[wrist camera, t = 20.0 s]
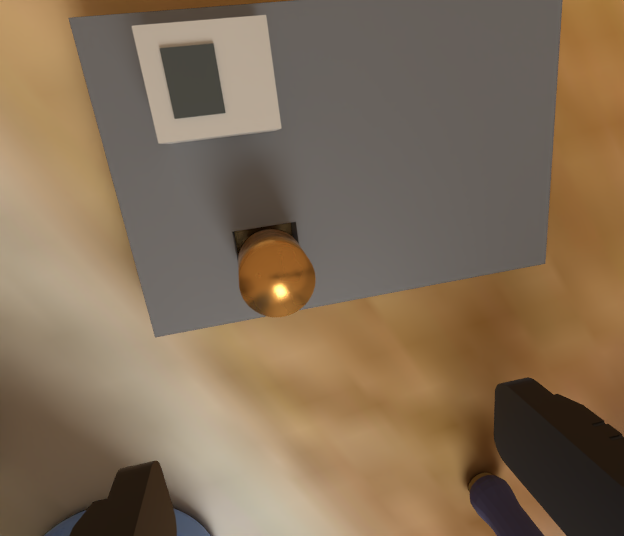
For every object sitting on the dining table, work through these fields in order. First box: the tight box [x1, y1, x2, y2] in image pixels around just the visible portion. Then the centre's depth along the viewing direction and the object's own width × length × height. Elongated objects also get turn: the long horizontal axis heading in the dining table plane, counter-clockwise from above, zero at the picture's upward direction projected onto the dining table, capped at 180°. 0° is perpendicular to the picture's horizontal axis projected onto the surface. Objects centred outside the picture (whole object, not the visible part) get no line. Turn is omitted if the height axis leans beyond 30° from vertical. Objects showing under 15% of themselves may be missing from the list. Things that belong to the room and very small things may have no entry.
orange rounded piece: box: [238, 229, 316, 317], centre depth 25 cm, size 4×4×8 cm
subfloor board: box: [69, 0, 562, 337], centre depth 26 cm, size 28×18×3 cm, turn 97°
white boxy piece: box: [132, 15, 281, 144], centre depth 20 cm, size 6×5×4 cm
